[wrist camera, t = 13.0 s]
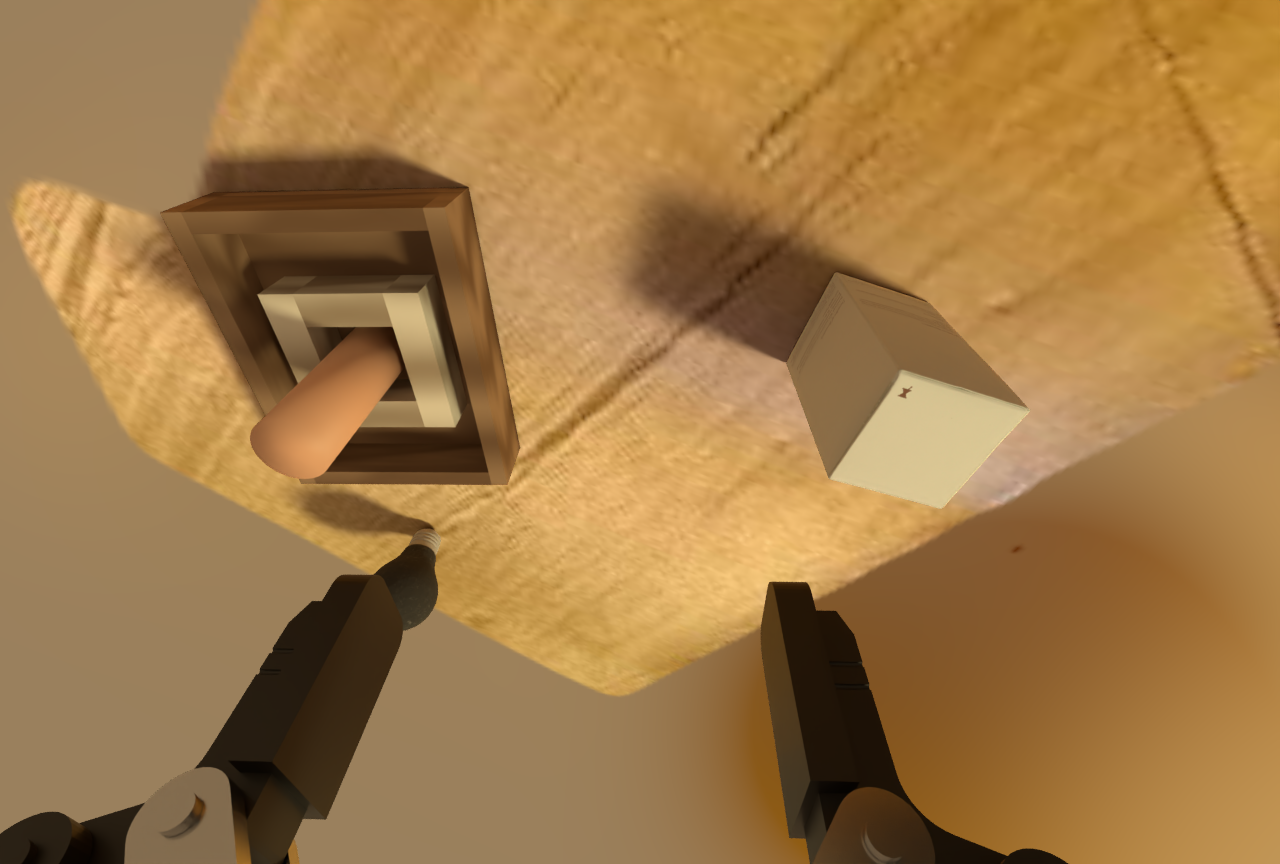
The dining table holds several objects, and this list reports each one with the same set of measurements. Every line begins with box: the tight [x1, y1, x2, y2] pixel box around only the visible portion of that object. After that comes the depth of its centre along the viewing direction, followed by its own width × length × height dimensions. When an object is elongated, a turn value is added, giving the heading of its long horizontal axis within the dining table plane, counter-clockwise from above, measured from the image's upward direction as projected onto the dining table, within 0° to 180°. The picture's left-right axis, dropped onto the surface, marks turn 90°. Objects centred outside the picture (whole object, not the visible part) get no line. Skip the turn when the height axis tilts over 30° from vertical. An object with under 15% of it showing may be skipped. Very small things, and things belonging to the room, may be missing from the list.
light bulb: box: [374, 528, 441, 630], centre depth 48 cm, size 6×6×10 cm
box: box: [160, 187, 520, 485], centre depth 38 cm, size 20×16×4 cm
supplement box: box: [786, 272, 1030, 509], centre depth 33 cm, size 7×7×13 cm
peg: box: [250, 327, 405, 479], centre depth 34 cm, size 4×4×12 cm
